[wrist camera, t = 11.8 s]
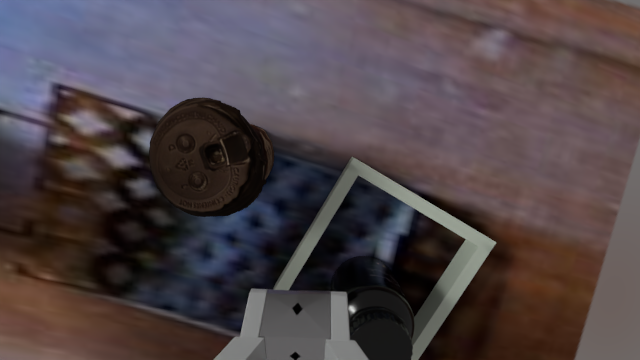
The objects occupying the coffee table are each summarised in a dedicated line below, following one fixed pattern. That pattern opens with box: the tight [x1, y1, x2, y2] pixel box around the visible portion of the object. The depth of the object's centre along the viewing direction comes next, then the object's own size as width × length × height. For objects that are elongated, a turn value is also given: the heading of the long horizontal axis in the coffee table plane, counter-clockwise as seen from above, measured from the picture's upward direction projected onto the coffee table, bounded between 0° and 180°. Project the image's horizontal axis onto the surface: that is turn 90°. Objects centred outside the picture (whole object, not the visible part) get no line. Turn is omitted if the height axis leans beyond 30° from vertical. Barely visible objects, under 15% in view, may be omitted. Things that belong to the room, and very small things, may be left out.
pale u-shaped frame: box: [273, 157, 496, 360], centre depth 35 cm, size 16×16×3 cm
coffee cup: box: [149, 98, 274, 217], centre depth 30 cm, size 9×8×13 cm
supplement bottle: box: [331, 256, 415, 360], centre depth 31 cm, size 7×7×12 cm
